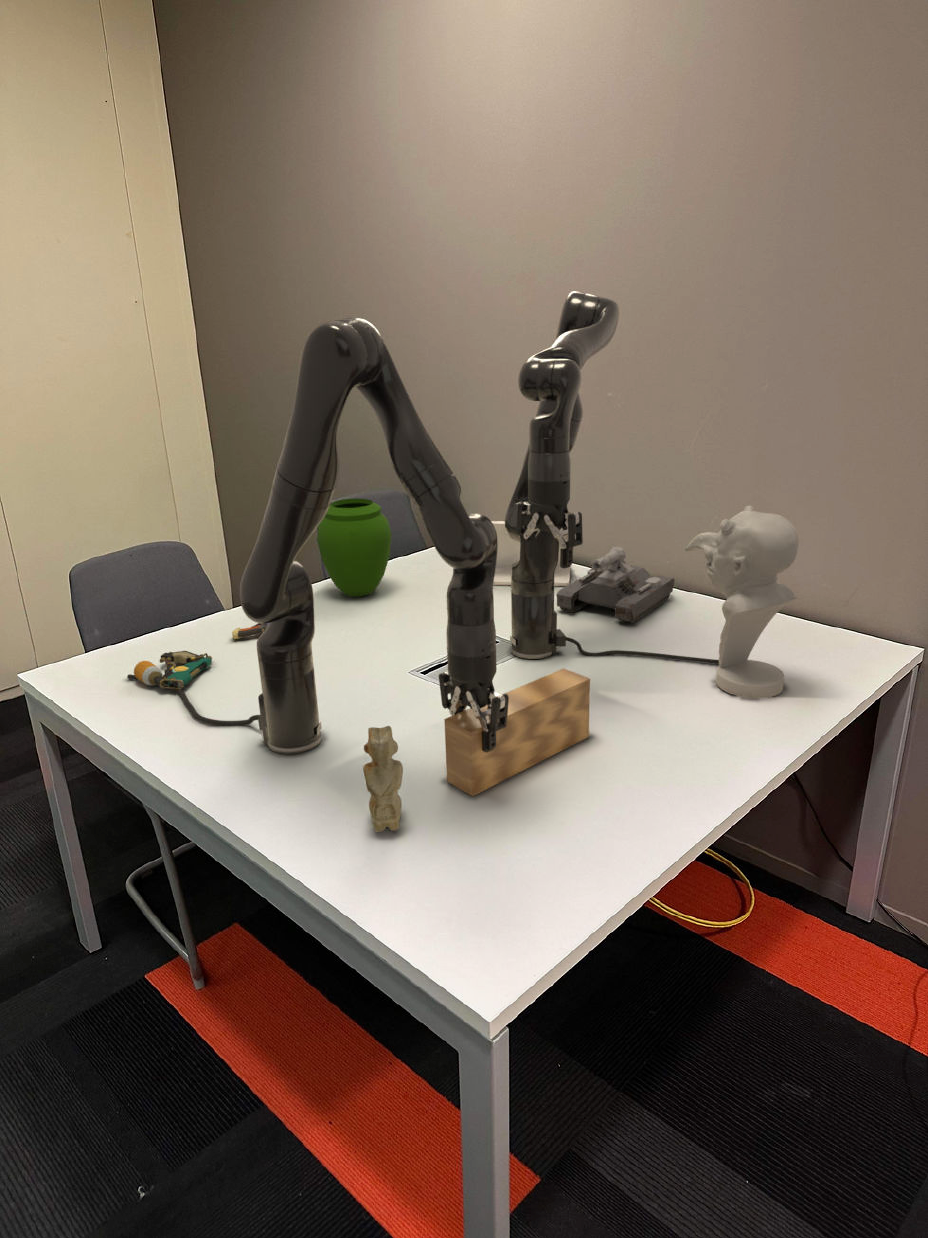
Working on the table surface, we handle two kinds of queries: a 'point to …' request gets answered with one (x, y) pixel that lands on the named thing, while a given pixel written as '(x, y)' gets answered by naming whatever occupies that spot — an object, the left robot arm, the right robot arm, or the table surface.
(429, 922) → the table surface
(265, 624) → the toy gun
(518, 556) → the tablet stand
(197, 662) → the spray gun
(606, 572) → the toy
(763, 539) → the bust sculpture
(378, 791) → the sculpture
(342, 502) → the vase
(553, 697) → the box
